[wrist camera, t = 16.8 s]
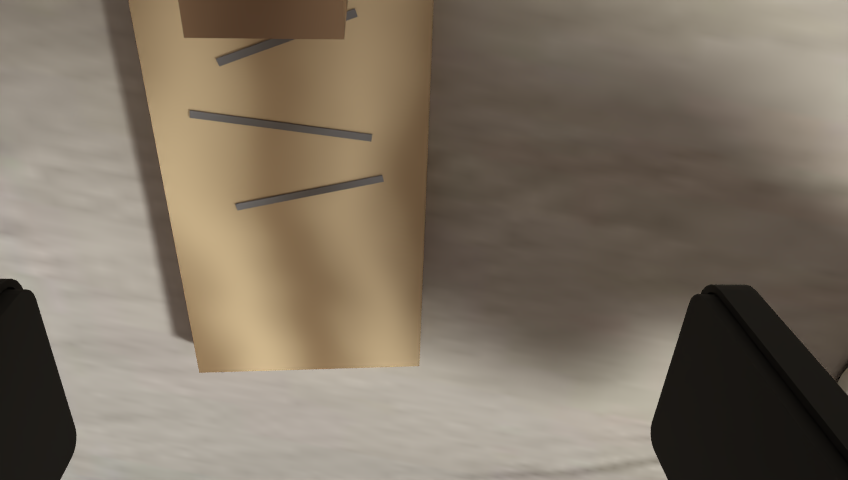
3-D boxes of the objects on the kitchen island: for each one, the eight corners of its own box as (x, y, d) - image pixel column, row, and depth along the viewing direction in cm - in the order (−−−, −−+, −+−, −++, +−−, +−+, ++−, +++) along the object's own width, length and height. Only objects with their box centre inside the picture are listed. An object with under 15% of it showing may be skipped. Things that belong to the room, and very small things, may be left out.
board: (441, -345, 20) (448, -362, 19) (416, 343, 35) (419, 367, 33) (78, -369, 20) (53, -388, 18) (206, 348, 34) (199, 373, 32)
